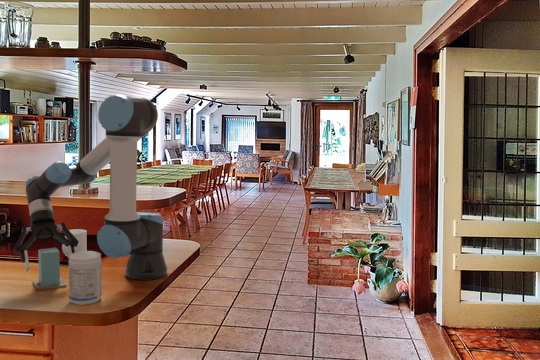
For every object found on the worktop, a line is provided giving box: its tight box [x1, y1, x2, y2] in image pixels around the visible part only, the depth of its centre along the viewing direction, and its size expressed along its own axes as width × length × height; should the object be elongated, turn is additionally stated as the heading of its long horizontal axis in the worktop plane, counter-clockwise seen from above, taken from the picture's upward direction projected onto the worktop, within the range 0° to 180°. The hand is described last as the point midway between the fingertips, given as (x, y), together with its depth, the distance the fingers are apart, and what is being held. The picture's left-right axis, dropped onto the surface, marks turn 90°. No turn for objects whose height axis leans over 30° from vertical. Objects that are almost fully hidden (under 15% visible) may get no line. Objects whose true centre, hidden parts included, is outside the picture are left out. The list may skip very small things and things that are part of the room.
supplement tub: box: [68, 250, 103, 306], centre depth 146 cm, size 10×10×15 cm
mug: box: [61, 228, 88, 258], centre depth 193 cm, size 12×8×10 cm
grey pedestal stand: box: [32, 276, 67, 292], centre depth 159 cm, size 9×9×9 cm
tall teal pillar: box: [37, 247, 61, 287], centre depth 159 cm, size 6×6×11 cm
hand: (50, 266), depth 157 cm, fingers open, 13 cm apart
